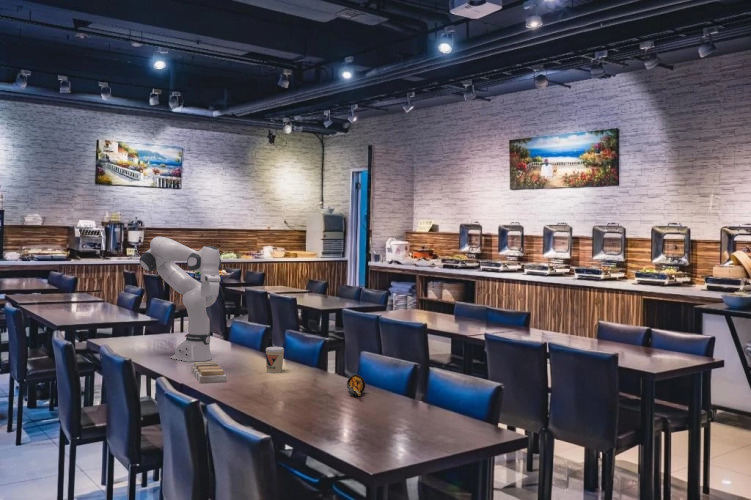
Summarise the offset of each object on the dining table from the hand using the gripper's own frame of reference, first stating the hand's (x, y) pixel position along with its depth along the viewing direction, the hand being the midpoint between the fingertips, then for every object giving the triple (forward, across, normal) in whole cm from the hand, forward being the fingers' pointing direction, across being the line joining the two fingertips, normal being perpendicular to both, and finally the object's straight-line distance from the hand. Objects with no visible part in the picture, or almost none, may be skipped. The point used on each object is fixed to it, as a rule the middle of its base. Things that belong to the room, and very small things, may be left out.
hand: (208, 306), depth 341 cm
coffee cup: (+33, +6, +34) cm, 47 cm away
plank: (+31, +13, -1) cm, 34 cm away
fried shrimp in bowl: (+37, +67, +49) cm, 91 cm away
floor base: (+34, +6, 0) cm, 34 cm away
